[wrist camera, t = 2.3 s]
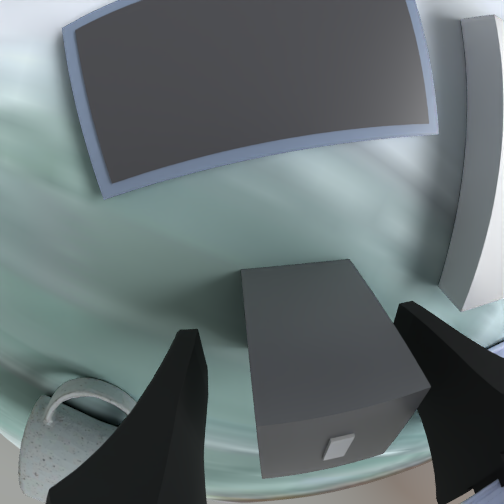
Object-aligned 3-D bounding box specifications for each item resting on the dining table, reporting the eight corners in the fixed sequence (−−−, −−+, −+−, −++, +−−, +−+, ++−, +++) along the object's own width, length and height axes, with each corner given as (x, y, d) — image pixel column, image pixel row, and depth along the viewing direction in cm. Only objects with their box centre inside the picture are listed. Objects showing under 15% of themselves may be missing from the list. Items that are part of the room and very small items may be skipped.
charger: (337, 336, 12) (384, 456, 7) (248, 347, 12) (262, 481, 7) (349, 258, 10) (433, 389, 5) (240, 269, 10) (256, 430, 5)
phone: (419, 129, 9) (440, 135, 8) (116, 188, 9) (102, 200, 8) (389, -17, 6) (407, -27, 5) (78, 34, 6) (60, 27, 5)
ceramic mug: (140, 455, 18) (133, 535, 11) (47, 419, 16) (25, 497, 9) (180, 400, 14) (174, 530, 7) (41, 343, 12) (-12, 462, 5)
